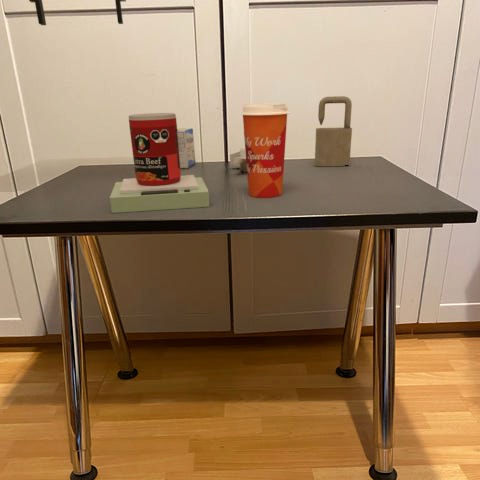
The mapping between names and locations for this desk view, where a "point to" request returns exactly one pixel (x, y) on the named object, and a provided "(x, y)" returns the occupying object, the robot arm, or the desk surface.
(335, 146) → the padlock
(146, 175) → the canned food
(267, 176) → the coffee cup
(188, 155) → the medicine box
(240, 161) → the bunny figurine
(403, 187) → the desk surface
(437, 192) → the desk surface
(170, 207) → the scale
